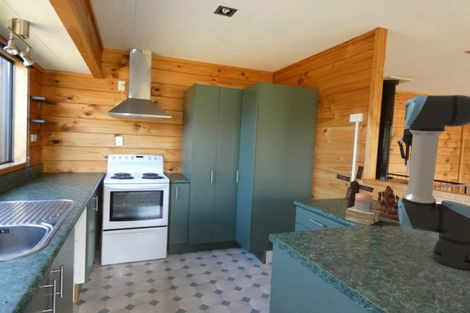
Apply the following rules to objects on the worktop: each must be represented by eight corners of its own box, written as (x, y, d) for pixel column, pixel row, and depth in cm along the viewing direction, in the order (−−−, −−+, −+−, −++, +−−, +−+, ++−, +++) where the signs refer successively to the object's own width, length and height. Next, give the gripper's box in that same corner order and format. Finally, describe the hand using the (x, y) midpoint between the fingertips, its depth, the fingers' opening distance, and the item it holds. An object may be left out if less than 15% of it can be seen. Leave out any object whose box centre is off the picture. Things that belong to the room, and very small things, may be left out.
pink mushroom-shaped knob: (367, 212, 161) (368, 197, 160) (351, 209, 167) (353, 194, 167) (373, 210, 167) (375, 195, 167) (358, 207, 174) (359, 192, 173)
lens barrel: (367, 212, 161) (367, 203, 161) (352, 209, 167) (353, 201, 167) (373, 210, 167) (373, 202, 167) (358, 207, 173) (359, 199, 173)
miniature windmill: (332, 207, 197) (335, 164, 195) (335, 204, 207) (338, 163, 204) (372, 213, 185) (375, 167, 183) (373, 209, 195) (376, 165, 193)
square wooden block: (369, 225, 158) (370, 214, 158) (345, 219, 168) (345, 209, 168) (379, 220, 168) (379, 210, 167) (355, 215, 178) (356, 205, 177)
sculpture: (406, 220, 170) (409, 187, 169) (396, 221, 167) (399, 187, 166) (382, 213, 186) (385, 182, 184) (373, 214, 183) (375, 183, 181)
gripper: (427, 129, 153) (424, 172, 154) (400, 128, 162) (397, 170, 164) (424, 128, 147) (420, 173, 149) (396, 128, 157) (393, 170, 158)
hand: (408, 171), depth 156 cm, fingers closed
